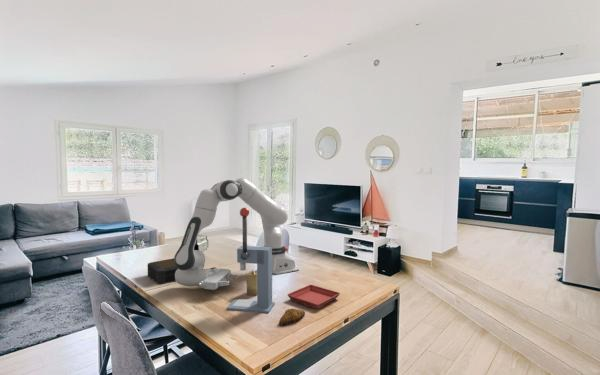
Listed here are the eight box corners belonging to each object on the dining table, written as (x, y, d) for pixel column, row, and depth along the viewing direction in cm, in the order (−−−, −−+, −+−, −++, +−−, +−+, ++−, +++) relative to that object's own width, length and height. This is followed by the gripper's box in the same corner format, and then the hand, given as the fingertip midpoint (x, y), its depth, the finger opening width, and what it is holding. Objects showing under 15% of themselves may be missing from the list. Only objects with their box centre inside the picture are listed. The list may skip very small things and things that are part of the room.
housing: (246, 294, 160) (246, 271, 159) (250, 291, 165) (250, 268, 164) (256, 295, 159) (256, 272, 159) (259, 291, 164) (259, 268, 164)
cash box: (159, 285, 173) (158, 271, 173) (146, 276, 188) (146, 262, 188) (204, 275, 189) (203, 262, 189) (189, 267, 205) (189, 255, 204)
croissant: (298, 312, 141) (298, 301, 141) (309, 317, 136) (309, 306, 136) (274, 323, 132) (274, 311, 131) (285, 329, 127) (285, 316, 127)
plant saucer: (310, 290, 167) (310, 283, 167) (340, 299, 156) (340, 292, 156) (286, 301, 153) (286, 294, 153) (318, 312, 142) (318, 304, 142)
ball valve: (197, 266, 206) (196, 238, 205) (184, 265, 208) (184, 237, 206) (210, 258, 223) (210, 232, 222) (198, 257, 225) (198, 232, 224)
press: (226, 309, 144) (225, 250, 142) (234, 300, 153) (234, 245, 152) (268, 313, 140) (268, 252, 139) (274, 303, 150) (274, 246, 148)
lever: (238, 260, 139) (238, 208, 138) (242, 257, 143) (241, 207, 142) (247, 260, 139) (247, 208, 137) (251, 258, 143) (250, 207, 141)
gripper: (196, 278, 156) (224, 280, 153) (215, 266, 176) (240, 267, 173) (196, 292, 156) (224, 294, 154) (215, 277, 176) (240, 279, 174)
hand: (232, 279), depth 164 cm, fingers open, 8 cm apart
